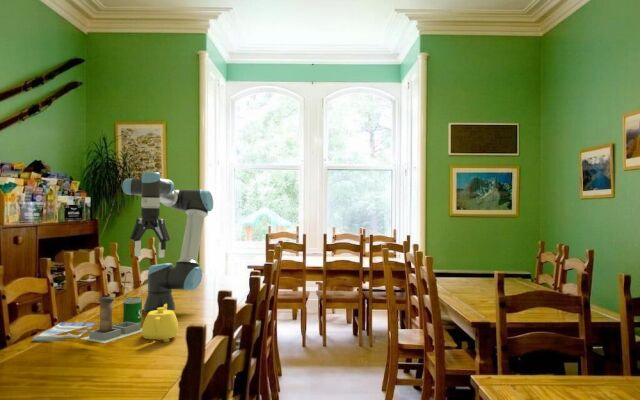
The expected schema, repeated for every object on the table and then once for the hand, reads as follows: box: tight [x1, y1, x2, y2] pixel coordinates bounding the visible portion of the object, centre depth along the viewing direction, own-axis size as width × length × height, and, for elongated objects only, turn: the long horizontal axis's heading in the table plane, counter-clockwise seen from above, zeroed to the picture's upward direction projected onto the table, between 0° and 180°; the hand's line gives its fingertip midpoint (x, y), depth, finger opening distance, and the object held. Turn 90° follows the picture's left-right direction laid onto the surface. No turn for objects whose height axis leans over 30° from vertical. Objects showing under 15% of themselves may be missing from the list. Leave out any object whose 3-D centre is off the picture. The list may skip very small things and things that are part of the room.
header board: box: [79, 321, 142, 344], centre depth 182 cm, size 22×13×4 cm, turn 156°
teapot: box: [141, 304, 179, 344], centre depth 180 cm, size 13×20×12 cm
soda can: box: [122, 296, 143, 324], centre depth 200 cm, size 8×8×12 cm
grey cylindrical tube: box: [98, 296, 115, 333], centre depth 177 cm, size 5×5×15 cm
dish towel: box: [31, 322, 100, 342], centre depth 186 cm, size 17×24×3 cm
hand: (149, 256), depth 197 cm, fingers open, 13 cm apart
